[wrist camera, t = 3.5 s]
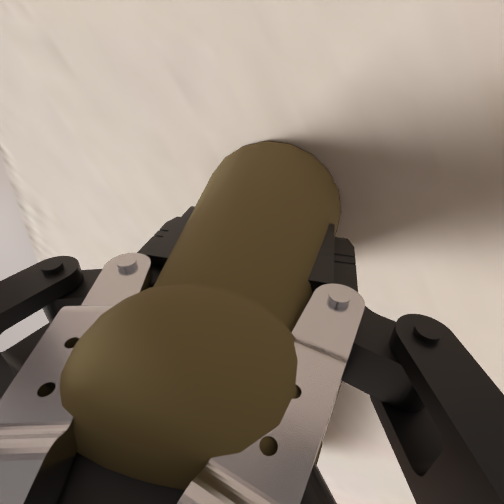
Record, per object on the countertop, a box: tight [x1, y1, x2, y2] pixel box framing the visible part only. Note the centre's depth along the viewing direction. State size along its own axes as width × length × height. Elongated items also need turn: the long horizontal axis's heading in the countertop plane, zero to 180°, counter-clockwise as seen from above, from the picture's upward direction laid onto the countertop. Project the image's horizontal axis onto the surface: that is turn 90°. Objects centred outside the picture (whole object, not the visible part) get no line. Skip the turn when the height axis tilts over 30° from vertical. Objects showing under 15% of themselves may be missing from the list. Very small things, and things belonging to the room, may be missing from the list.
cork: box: [60, 141, 341, 490], centre depth 9 cm, size 6×6×11 cm
